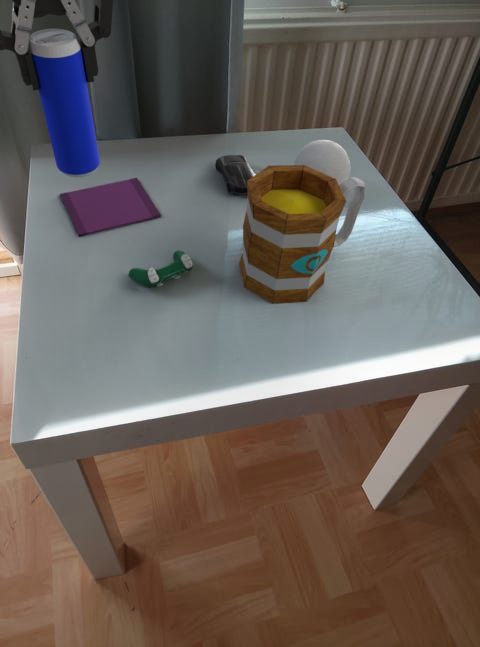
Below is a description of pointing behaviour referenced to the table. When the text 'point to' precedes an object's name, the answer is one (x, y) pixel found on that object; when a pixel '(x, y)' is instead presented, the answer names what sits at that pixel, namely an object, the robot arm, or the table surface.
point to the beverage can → (65, 100)
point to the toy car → (235, 172)
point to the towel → (109, 206)
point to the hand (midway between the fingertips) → (61, 82)
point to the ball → (325, 159)
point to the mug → (293, 230)
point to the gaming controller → (162, 271)
